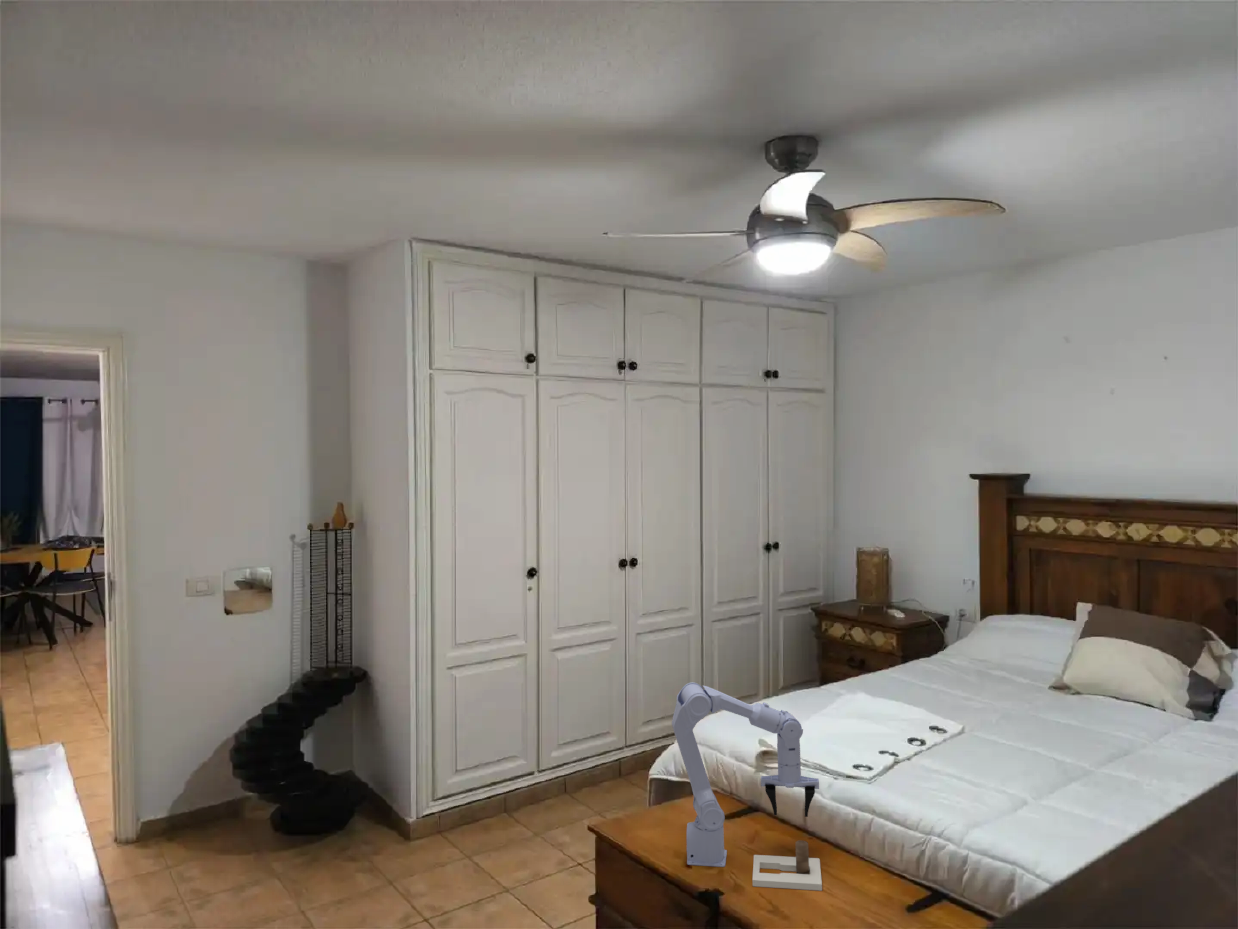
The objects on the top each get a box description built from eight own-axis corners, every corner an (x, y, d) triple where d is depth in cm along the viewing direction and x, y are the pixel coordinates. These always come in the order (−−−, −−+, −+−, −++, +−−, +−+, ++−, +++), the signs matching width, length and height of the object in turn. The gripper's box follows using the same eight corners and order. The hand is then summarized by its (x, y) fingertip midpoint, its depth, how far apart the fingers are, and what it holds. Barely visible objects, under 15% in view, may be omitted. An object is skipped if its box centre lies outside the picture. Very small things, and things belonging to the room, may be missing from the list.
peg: (796, 879, 200) (795, 846, 200) (796, 872, 203) (795, 840, 203) (809, 879, 200) (808, 846, 200) (809, 873, 203) (807, 840, 202)
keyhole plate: (752, 886, 198) (752, 880, 198) (754, 860, 210) (753, 854, 210) (822, 890, 195) (821, 884, 195) (819, 864, 207) (819, 858, 207)
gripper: (759, 767, 211) (761, 820, 211) (818, 769, 208) (820, 823, 208) (760, 756, 218) (762, 807, 218) (817, 758, 215) (819, 810, 215)
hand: (790, 814), depth 214 cm, fingers open, 7 cm apart
